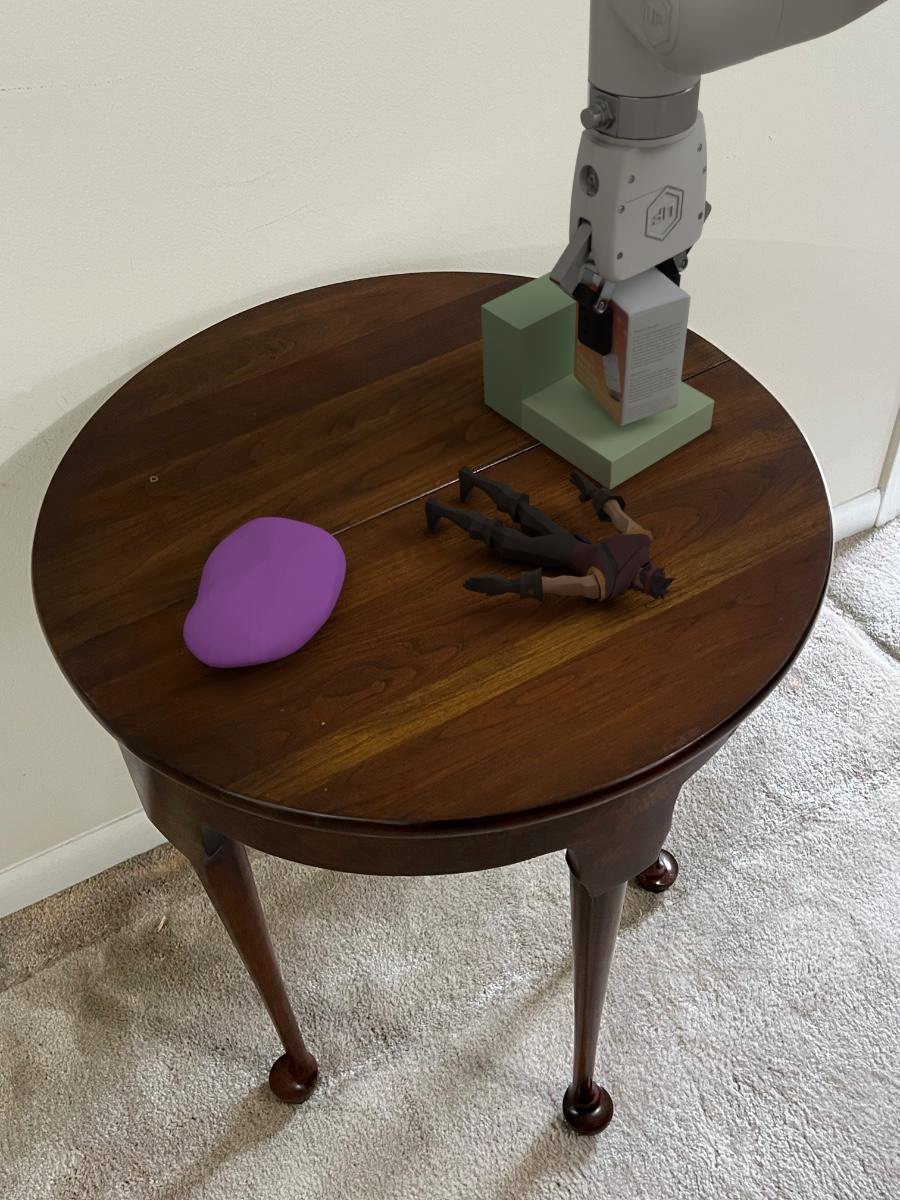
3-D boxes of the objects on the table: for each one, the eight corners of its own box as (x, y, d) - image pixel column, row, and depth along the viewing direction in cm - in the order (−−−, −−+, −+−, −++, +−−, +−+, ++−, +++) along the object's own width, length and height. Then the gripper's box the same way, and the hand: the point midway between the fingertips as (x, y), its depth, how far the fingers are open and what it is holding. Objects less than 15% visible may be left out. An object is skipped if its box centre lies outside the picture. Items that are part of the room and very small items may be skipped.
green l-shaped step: (710, 428, 96) (725, 328, 89) (609, 490, 92) (616, 389, 84) (582, 351, 106) (586, 254, 98) (484, 403, 101) (480, 305, 93)
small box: (572, 377, 95) (574, 265, 88) (629, 358, 97) (636, 247, 89) (620, 428, 90) (627, 314, 83) (680, 408, 92) (692, 294, 84)
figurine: (393, 578, 87) (619, 677, 78) (385, 537, 84) (619, 635, 75) (502, 473, 95) (718, 550, 86) (498, 432, 92) (722, 507, 83)
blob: (245, 711, 78) (231, 664, 74) (142, 641, 83) (124, 594, 79) (381, 590, 85) (374, 543, 82) (279, 533, 90) (268, 486, 87)
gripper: (587, 162, 71) (579, 395, 84) (770, 80, 78) (737, 307, 91) (509, 126, 75) (513, 353, 88) (689, 52, 82) (669, 272, 95)
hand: (627, 328), depth 89 cm, fingers closed on small box, 6 cm apart
